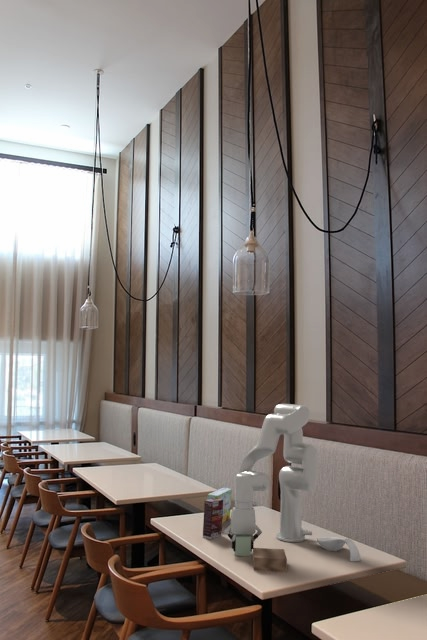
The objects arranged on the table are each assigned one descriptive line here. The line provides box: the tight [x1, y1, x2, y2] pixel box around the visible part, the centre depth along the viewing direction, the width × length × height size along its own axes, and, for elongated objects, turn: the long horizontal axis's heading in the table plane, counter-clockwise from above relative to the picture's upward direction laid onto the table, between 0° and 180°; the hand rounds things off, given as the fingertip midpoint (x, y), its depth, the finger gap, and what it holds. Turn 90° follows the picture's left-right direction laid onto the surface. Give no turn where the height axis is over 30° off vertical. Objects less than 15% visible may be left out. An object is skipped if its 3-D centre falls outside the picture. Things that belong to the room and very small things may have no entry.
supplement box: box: [202, 498, 223, 540], centre depth 249 cm, size 9×5×16 cm, turn 143°
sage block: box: [234, 534, 252, 557], centre depth 225 cm, size 6×6×7 cm
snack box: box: [206, 487, 233, 524], centre depth 274 cm, size 21×6×15 cm, turn 159°
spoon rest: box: [316, 536, 361, 563], centre depth 232 cm, size 24×12×7 cm, turn 22°
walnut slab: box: [252, 547, 288, 573], centre depth 211 cm, size 12×12×5 cm
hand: (242, 550), depth 225 cm, fingers closed on sage block, 6 cm apart
